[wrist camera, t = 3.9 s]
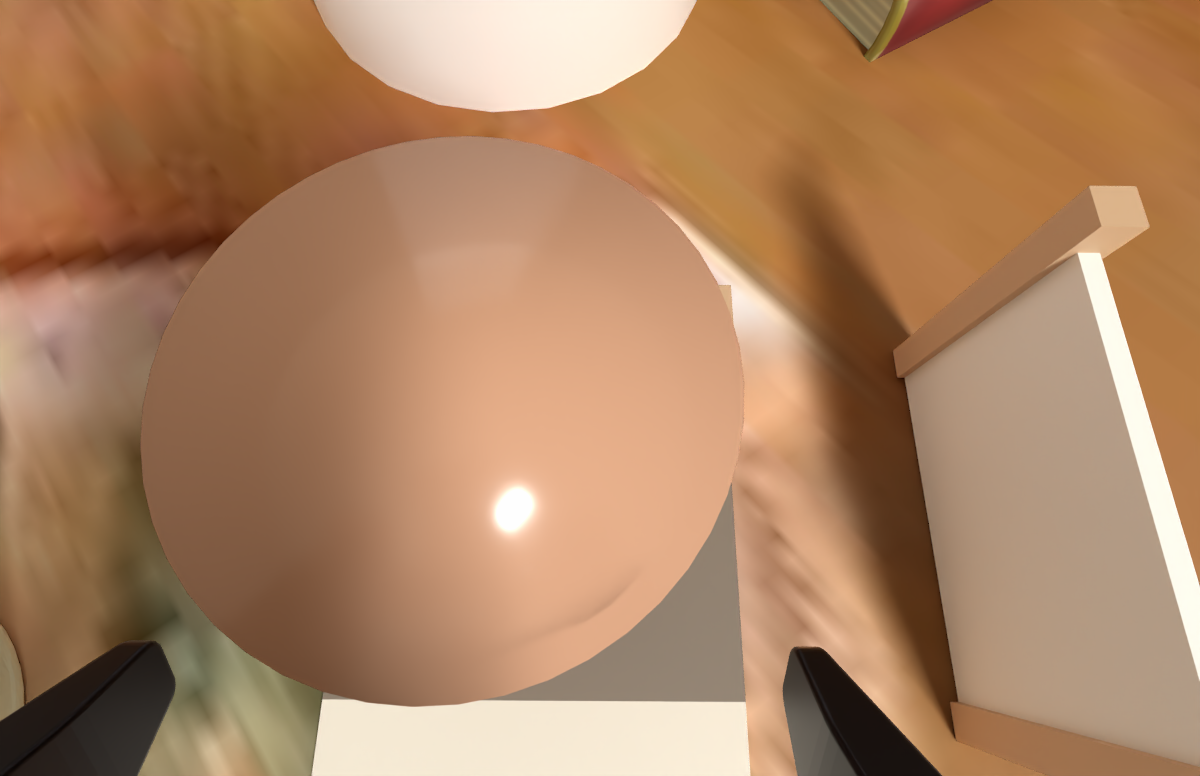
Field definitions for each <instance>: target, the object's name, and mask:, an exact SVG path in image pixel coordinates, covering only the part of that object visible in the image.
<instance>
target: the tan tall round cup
mask: <svg viewBox="0 0 1200 776" xmlns="http://www.w3.org/2000/svg"><path fill="white" fill-rule="evenodd" d="M743 423H744V377H743V370H742V362H741V354H740V347H739V343H738V340H737V336H736V332H735V329H734V325H733V321H732V318H731V314H730V311H729V309H728V307H727V304H726V302H725V300H724V297H723V295H722V293H721V290H720V288H719V286H718V283H717V281H716V279H715V278H714V276H713V274H712V273H711V271H710V269H709V268H708V266H707V264H706V263H705V261H704V259H703V258H702V256H701V254H700V253H699V251H698V250H697V249H696V248H695V246H694V245H693V244H692V243H691V241H690V240H689V239H688V238H687V236H686V235H685V234H684V232H683V231H682V230H681V229H680V227H679V226H678V225H677V224H676V223H675V222H674V221H673V220H672V219H671V218H669V217H668V216H667V215H666V214H665V213H664V212H663V211H662V210H661V209H660V208H659V207H658V206H657V205H656V204H655V203H654V202H652V201H651V200H650V199H648V198H647V197H646V196H644V195H643V194H642V193H641V192H639V191H638V190H637V189H635V188H634V187H633V186H631V185H630V184H628V183H627V182H625V181H623V180H622V179H620V178H618V177H616V176H615V175H613V174H611V173H610V172H608V171H606V170H604V169H603V168H601V167H599V166H596V165H594V164H592V163H589V162H587V161H585V160H583V159H580V158H578V157H576V156H573V155H571V154H568V153H565V152H561V151H558V150H555V149H551V148H548V147H545V146H542V145H537V144H532V143H527V142H521V141H516V140H511V139H503V138H490V137H477V136H465V137H438V138H431V139H423V140H416V141H409V142H403V143H399V144H395V145H391V146H387V147H383V148H379V149H375V150H371V151H368V152H366V153H363V154H360V155H357V156H354V157H352V158H349V159H346V160H343V161H340V162H338V163H336V164H334V165H332V166H330V167H328V168H325V169H323V170H321V171H319V172H317V173H315V174H313V175H311V176H309V177H307V178H305V179H304V180H302V181H300V182H299V183H297V184H296V185H294V186H292V187H291V188H289V189H287V190H286V191H284V192H282V193H281V194H279V195H278V196H276V197H275V198H274V199H272V200H271V201H270V202H268V203H267V204H266V205H265V206H263V207H262V208H261V209H259V210H258V211H257V212H255V213H254V214H253V215H252V216H250V217H249V218H248V219H247V220H246V221H245V222H244V223H243V224H242V225H241V226H240V227H239V228H238V229H236V230H235V231H234V232H233V233H232V234H231V235H230V236H229V237H228V238H227V239H226V240H225V241H224V242H223V243H222V244H221V245H220V247H219V248H218V249H217V250H216V251H215V253H214V254H213V255H212V256H211V257H210V259H209V260H208V261H207V262H206V263H205V265H204V266H203V267H202V268H201V269H200V271H199V272H198V274H197V275H196V277H195V278H194V280H193V281H192V283H191V284H190V286H189V287H188V289H187V290H186V292H185V293H184V295H183V297H182V298H181V300H180V301H179V303H178V305H177V307H176V309H175V311H174V313H173V315H172V317H171V319H170V321H169V323H168V325H167V327H166V329H165V331H164V333H163V336H162V339H161V341H160V344H159V347H158V350H157V353H156V356H155V359H154V361H153V364H152V367H151V370H150V375H149V380H148V385H147V389H146V394H145V399H144V404H143V412H142V427H141V442H140V448H141V461H142V474H143V485H144V489H145V493H146V498H147V502H148V506H149V511H150V515H151V520H152V523H153V525H154V528H155V530H156V533H157V535H158V538H159V540H160V543H161V546H162V548H163V551H164V553H165V556H166V558H167V560H168V562H169V563H170V565H171V567H172V568H173V570H174V572H175V573H176V575H177V577H178V578H179V580H180V582H181V583H182V585H183V587H184V588H185V590H186V592H187V593H188V595H189V596H190V597H191V598H192V599H193V600H194V602H195V603H196V604H197V605H198V606H199V608H200V609H201V610H202V611H203V612H204V614H205V615H206V616H207V617H208V618H209V620H210V621H211V622H212V623H213V624H214V625H215V626H216V627H217V628H218V629H219V630H221V631H222V632H223V633H224V634H225V635H226V636H227V637H229V638H230V639H231V640H232V641H233V642H234V643H236V644H237V645H238V646H239V647H240V648H241V649H243V650H244V651H245V652H246V653H248V654H249V655H251V656H253V657H254V658H256V659H257V660H259V661H261V662H262V663H264V664H266V665H267V666H269V667H270V668H272V669H274V670H275V671H277V672H279V673H280V674H282V675H284V676H286V677H289V678H291V679H293V680H296V681H298V682H301V683H303V684H305V685H308V686H310V687H313V688H315V689H317V690H320V691H322V692H325V693H330V694H334V695H338V696H342V697H346V698H350V699H354V700H358V701H362V702H366V703H375V704H386V705H396V706H407V707H422V706H441V705H459V704H464V703H469V702H474V701H479V700H484V699H489V698H494V697H499V696H504V695H507V694H510V693H513V692H516V691H519V690H522V689H525V688H527V687H530V686H533V685H536V684H539V683H542V682H545V681H548V680H550V679H552V678H554V677H556V676H558V675H560V674H562V673H564V672H566V671H567V670H569V669H571V668H573V667H575V666H577V665H579V664H581V663H583V662H585V661H587V660H589V659H591V658H592V657H594V656H595V655H596V654H598V653H599V652H601V651H602V650H604V649H605V648H606V647H608V646H609V645H611V644H612V643H614V642H615V641H616V640H618V639H619V638H621V637H622V636H624V635H625V634H627V633H628V632H629V631H630V630H631V629H632V628H633V627H634V626H635V625H637V624H638V623H639V622H640V621H641V620H642V619H643V618H644V617H645V616H646V615H647V614H648V613H650V612H651V611H652V610H653V609H654V608H655V607H656V606H657V605H658V604H659V603H660V602H661V601H662V600H663V599H664V598H665V596H666V595H667V594H668V593H669V592H670V590H671V589H672V588H673V587H674V586H675V584H676V583H677V582H678V581H679V579H680V578H681V577H682V576H683V575H684V573H685V572H686V571H687V570H688V568H689V567H690V565H691V564H692V562H693V560H694V559H695V557H696V556H697V554H698V552H699V551H700V549H701V548H702V546H703V544H704V543H705V541H706V540H707V538H708V536H709V535H710V533H711V531H712V529H713V526H714V524H715V522H716V520H717V518H718V515H719V513H720V511H721V509H722V506H723V504H724V502H725V500H726V497H727V495H728V491H729V488H730V485H731V481H732V478H733V474H734V471H735V467H736V464H737V461H738V457H739V450H740V443H741V436H742V429H743Z"/></svg>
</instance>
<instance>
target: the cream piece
mask: <svg viewBox="0 0 1200 776" xmlns="http://www.w3.org/2000/svg"><path fill="white" fill-rule="evenodd" d="M1149 227H1150V226H1149V223H1148V220H1147V217H1146V214H1145V211H1144V208H1143V205H1142V202H1141V199H1140V196H1139V193H1138V190H1137V187H1136V186H1088V187H1087V188H1086V189H1085V190H1083V191H1082V192H1081V193H1080V194H1079V195H1077V196H1076V197H1075V198H1074V199H1073V200H1072V201H1070V202H1069V203H1068V204H1067V205H1066V206H1064V207H1063V208H1062V209H1061V210H1060V211H1058V212H1057V213H1056V214H1055V215H1054V216H1053V217H1051V218H1050V219H1049V220H1048V221H1047V222H1045V223H1044V224H1043V225H1042V226H1041V227H1039V228H1038V229H1037V230H1036V231H1035V232H1034V233H1032V234H1031V235H1030V236H1029V237H1028V238H1026V239H1025V240H1024V241H1023V242H1022V243H1020V244H1019V245H1018V246H1017V247H1016V248H1015V249H1013V250H1012V251H1011V252H1010V253H1009V254H1007V255H1006V256H1005V257H1004V258H1003V259H1001V260H1000V261H999V262H998V263H997V264H996V265H994V266H993V267H992V268H991V269H990V270H988V271H987V272H986V273H985V274H984V275H982V276H981V277H980V278H979V279H978V280H976V281H975V282H974V283H973V284H972V285H971V286H969V287H968V288H967V289H966V290H965V291H963V292H962V293H961V294H960V295H959V296H957V297H956V298H955V299H954V300H953V301H952V302H950V303H949V304H948V305H947V306H946V307H944V308H943V309H942V310H941V311H940V312H938V313H937V314H936V315H935V316H934V317H933V318H931V319H930V320H929V321H928V322H927V323H925V324H924V325H923V326H922V327H921V328H919V329H918V330H917V331H916V332H915V333H914V334H912V335H911V336H910V337H909V338H908V339H906V340H905V341H904V342H903V343H902V344H900V345H899V346H898V347H897V348H896V349H895V350H893V354H894V361H895V367H896V373H897V378H905V384H906V390H907V396H908V402H909V408H910V414H911V420H912V426H913V432H914V438H915V444H916V450H917V456H918V462H919V468H920V474H921V480H922V486H923V492H924V498H925V504H926V510H927V516H928V522H929V528H930V534H931V540H932V546H933V552H934V558H935V564H936V570H937V576H938V582H939V588H940V594H941V600H942V606H943V612H944V618H945V624H946V630H947V636H948V642H949V648H950V654H951V660H952V666H953V672H954V678H955V684H956V690H957V696H958V702H950V706H951V712H952V718H953V724H954V731H955V737H956V741H958V742H961V743H963V744H966V745H969V746H971V747H974V748H976V749H979V750H982V751H984V752H987V753H990V754H992V755H995V756H998V757H1000V758H1003V759H1005V760H1008V761H1011V762H1013V763H1016V764H1019V765H1021V766H1024V767H1026V768H1029V769H1032V770H1034V771H1037V772H1040V773H1042V774H1045V775H1048V776H1200V586H1199V582H1198V579H1197V576H1196V572H1195V569H1194V566H1193V562H1192V559H1191V556H1190V552H1189V549H1188V546H1187V542H1186V539H1185V536H1184V532H1183V529H1182V526H1181V522H1180V519H1179V516H1178V512H1177V509H1176V506H1175V502H1174V499H1173V495H1172V492H1171V489H1170V485H1169V482H1168V479H1167V475H1166V472H1165V469H1164V465H1163V462H1162V459H1161V455H1160V452H1159V449H1158V445H1157V442H1156V439H1155V435H1154V432H1153V429H1152V425H1151V422H1150V419H1149V415H1148V412H1147V409H1146V405H1145V402H1144V399H1143V395H1142V392H1141V388H1140V385H1139V382H1138V378H1137V375H1136V372H1135V368H1134V365H1133V362H1132V358H1131V355H1130V352H1129V348H1128V345H1127V342H1126V338H1125V335H1124V332H1123V328H1122V325H1121V322H1120V318H1119V315H1118V312H1117V308H1116V305H1115V302H1114V298H1113V295H1112V292H1111V288H1110V285H1109V281H1108V278H1107V275H1106V271H1105V268H1104V265H1103V261H1102V259H1103V258H1105V257H1106V256H1108V255H1109V254H1111V253H1112V252H1114V251H1115V250H1117V249H1118V248H1120V247H1121V246H1123V245H1124V244H1125V243H1127V242H1128V241H1130V240H1131V239H1133V238H1134V237H1136V236H1137V235H1139V234H1140V233H1142V232H1143V231H1145V230H1146V229H1148V228H1149ZM718 286H719V288H720V290H721V293H722V295H723V297H724V300H725V302H726V304H727V307H728V309H729V311H730V314H731V318H732V321H733V312H732V297H731V285H718ZM312 776H750V764H749V748H748V732H747V717H746V701H745V686H744V670H743V654H742V639H741V623H740V607H739V592H738V576H737V560H736V545H735V529H734V513H733V498H732V482H731V485H730V488H729V491H728V495H727V497H726V500H725V502H724V504H723V506H722V509H721V511H720V513H719V515H718V518H717V520H716V522H715V524H714V526H713V529H712V531H711V533H710V535H709V536H708V538H707V540H706V541H705V543H704V544H703V546H702V548H701V549H700V551H699V552H698V554H697V556H696V557H695V559H694V560H693V562H692V564H691V565H690V567H689V568H688V570H687V571H686V572H685V573H684V575H683V576H682V577H681V578H680V579H679V581H678V582H677V583H676V584H675V586H674V587H673V588H672V589H671V590H670V592H669V593H668V594H667V595H666V596H665V598H664V599H663V600H662V601H661V602H660V603H659V604H658V605H657V606H656V607H655V608H654V609H653V610H652V611H651V612H650V613H648V614H647V615H646V616H645V617H644V618H643V619H642V620H641V621H640V622H639V623H638V624H637V625H635V626H634V627H633V628H632V629H631V630H630V631H629V632H628V633H627V634H625V635H624V636H622V637H621V638H619V639H618V640H616V641H615V642H614V643H612V644H611V645H609V646H608V647H606V648H605V649H604V650H602V651H601V652H599V653H598V654H596V655H595V656H594V657H592V658H591V659H589V660H587V661H585V662H583V663H581V664H579V665H577V666H575V667H573V668H571V669H569V670H567V671H566V672H564V673H562V674H560V675H558V676H556V677H554V678H552V679H550V680H548V681H545V682H542V683H539V684H536V685H533V686H530V687H527V688H525V689H522V690H519V691H516V692H513V693H510V694H507V695H504V696H499V697H494V698H489V699H484V700H479V701H474V702H469V703H464V704H459V705H441V706H422V707H407V706H396V705H386V704H375V703H366V702H362V701H358V700H354V699H350V698H346V697H342V696H338V695H334V694H330V693H325V692H323V698H322V706H321V713H320V720H319V727H318V734H317V741H316V748H315V756H314V763H313V770H312Z"/></svg>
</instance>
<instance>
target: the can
mask: <svg viewBox="0 0 1200 776" xmlns="http://www.w3.org/2000/svg"><path fill="white" fill-rule="evenodd" d="M22 706H24V686H23V679H22V672H21V667H20V664H19V661H18V658H17V654H16V651H15V648H14V646H13V644H12V642H11V640H10V638H9V636H8V634H7V632H6V631H5V629H4V628H3V627H2V625H1V624H0V721H1V720H2V719H4V718H5V717H7V716H9V715H10V714H12V713H13V712H15V711H16V710H18V709H19V708H21V707H22Z"/></svg>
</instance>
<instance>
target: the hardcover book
mask: <svg viewBox="0 0 1200 776" xmlns="http://www.w3.org/2000/svg"><path fill="white" fill-rule="evenodd" d="M820 1H821V2H822V3H823V4H824V5H825V6H826V7H827V8H828V9H829V10H830V11H831V12H832V13H833V14H834V15H835V16H836V17H837V18H838V19H839V20H840V21H841V22H842V23H843V24H844V26H845V27H846V28H847V29H848V30H849V31H850V32H851V33H852V34H853V35H854V36H855V37H856V38H857V39H858V40H859V41H860V42H861V43H862V44H863V45H864V46H865V47H866V48H867V49H868V51H867V52H866V54H865V55H864V57H865V58H866V59H867V60H868V61H869V62H871V61H873V60H875V59H877V58H879V57H881V56H883V55H885V54H887V53H889V52H891V51H893V50H895V49H897V48H899V47H901V46H903V45H905V44H907V43H909V42H911V41H913V40H915V39H917V38H919V37H921V36H923V35H925V34H927V33H929V32H931V31H933V30H935V29H937V28H939V27H941V26H943V25H945V24H947V23H949V22H951V21H953V20H954V19H956V18H958V17H960V16H962V15H964V14H966V13H968V12H970V11H972V10H974V9H976V8H978V7H980V6H982V5H984V4H986V3H988V2H990V1H992V0H820Z"/></svg>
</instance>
